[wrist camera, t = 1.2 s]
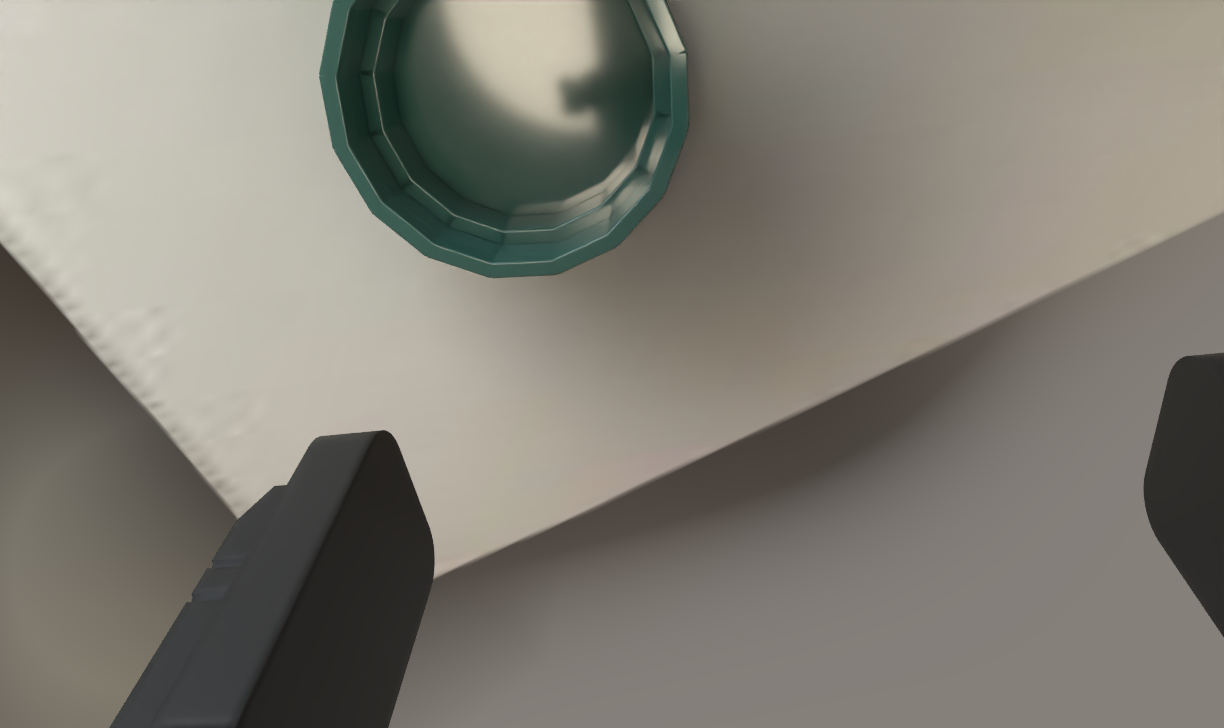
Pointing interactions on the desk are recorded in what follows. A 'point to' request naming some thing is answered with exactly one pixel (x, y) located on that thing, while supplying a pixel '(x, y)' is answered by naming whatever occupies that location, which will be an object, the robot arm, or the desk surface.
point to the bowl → (507, 123)
